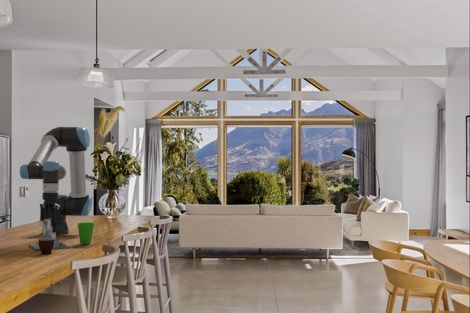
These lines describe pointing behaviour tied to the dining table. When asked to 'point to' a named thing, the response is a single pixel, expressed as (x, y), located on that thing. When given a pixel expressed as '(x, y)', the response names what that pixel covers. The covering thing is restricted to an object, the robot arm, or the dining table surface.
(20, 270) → the dining table surface
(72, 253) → the dining table surface
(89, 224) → the cup
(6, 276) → the dining table surface
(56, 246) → the duct flange
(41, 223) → the elbow
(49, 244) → the mate gourd
